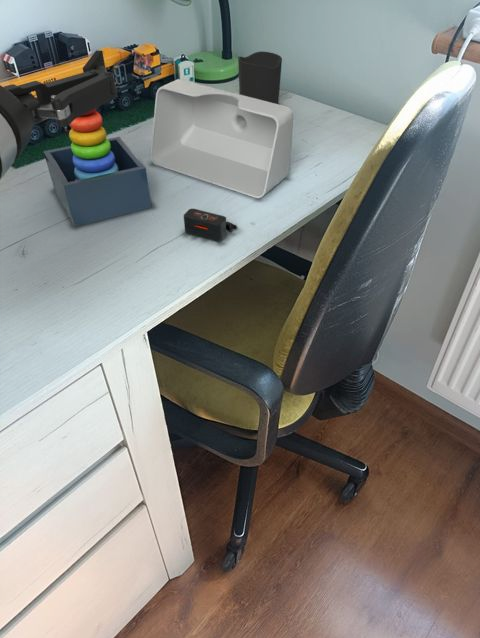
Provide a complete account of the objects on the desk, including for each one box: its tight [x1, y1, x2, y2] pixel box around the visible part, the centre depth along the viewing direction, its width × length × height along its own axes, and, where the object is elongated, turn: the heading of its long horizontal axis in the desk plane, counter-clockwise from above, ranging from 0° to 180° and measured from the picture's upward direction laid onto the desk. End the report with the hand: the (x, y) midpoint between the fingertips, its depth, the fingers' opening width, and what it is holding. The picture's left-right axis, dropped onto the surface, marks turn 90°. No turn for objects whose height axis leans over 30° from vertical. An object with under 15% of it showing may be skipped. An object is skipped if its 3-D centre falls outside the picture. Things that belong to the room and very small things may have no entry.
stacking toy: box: [68, 107, 119, 181], centre depth 80 cm, size 8×8×19 cm
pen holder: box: [237, 51, 283, 104], centre depth 114 cm, size 9×9×10 cm
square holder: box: [43, 136, 152, 227], centre depth 85 cm, size 13×13×7 cm
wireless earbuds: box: [183, 208, 238, 243], centre depth 80 cm, size 5×7×3 cm, turn 67°
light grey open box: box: [149, 78, 294, 199], centre depth 93 cm, size 25×16×12 cm, turn 59°
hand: (46, 61), depth 63 cm, fingers open, 13 cm apart
